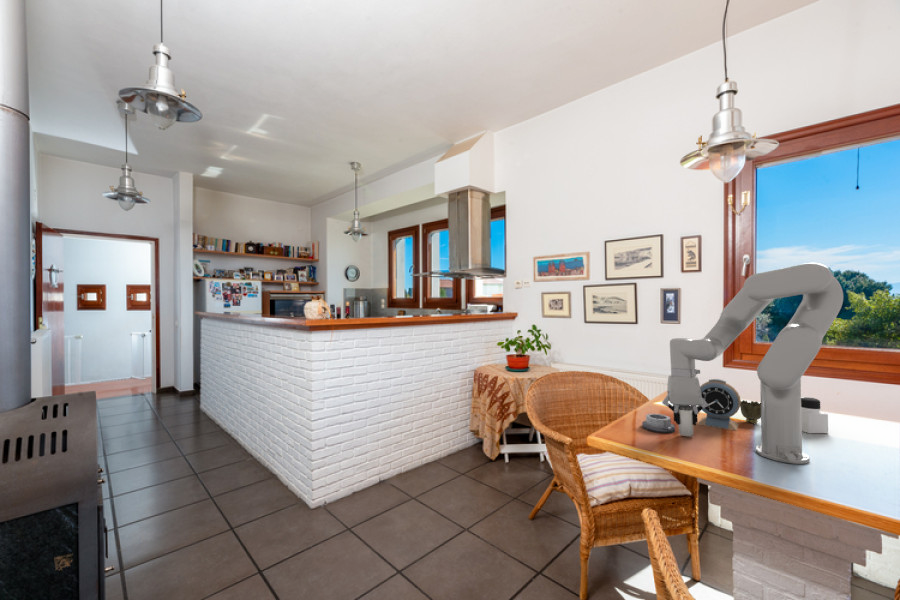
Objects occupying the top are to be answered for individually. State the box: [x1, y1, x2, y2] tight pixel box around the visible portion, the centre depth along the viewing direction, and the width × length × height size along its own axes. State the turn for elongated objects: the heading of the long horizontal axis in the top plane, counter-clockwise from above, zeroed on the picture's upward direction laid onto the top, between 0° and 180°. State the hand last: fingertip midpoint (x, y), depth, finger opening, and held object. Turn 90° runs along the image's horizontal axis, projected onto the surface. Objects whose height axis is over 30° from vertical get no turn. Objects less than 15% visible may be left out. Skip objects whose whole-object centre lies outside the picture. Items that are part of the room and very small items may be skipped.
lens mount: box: [641, 413, 676, 434], centre depth 145 cm, size 11×11×4 cm
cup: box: [739, 399, 761, 424], centre depth 150 cm, size 8×7×8 cm
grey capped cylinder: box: [678, 405, 694, 437], centre depth 135 cm, size 4×4×10 cm
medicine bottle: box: [801, 396, 829, 434], centre depth 140 cm, size 7×7×12 cm
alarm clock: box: [697, 378, 742, 432], centre depth 148 cm, size 14×10×18 cm
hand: (685, 423), depth 135 cm, fingers closed on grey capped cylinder, 4 cm apart
